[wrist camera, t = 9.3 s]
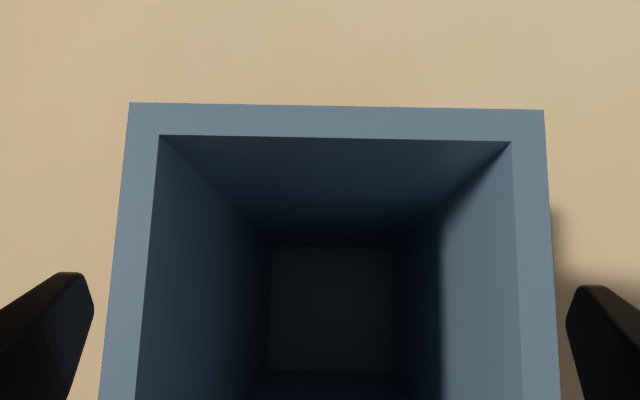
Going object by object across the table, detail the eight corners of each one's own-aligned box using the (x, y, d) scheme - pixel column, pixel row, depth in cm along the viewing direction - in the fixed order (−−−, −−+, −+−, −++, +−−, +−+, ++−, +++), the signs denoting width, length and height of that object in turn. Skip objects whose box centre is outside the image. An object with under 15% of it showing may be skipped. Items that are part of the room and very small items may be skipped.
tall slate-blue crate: (401, 383, 18) (572, 580, 5) (257, 378, 18) (80, 559, 5) (400, 240, 19) (543, 110, 6) (264, 236, 19) (129, 102, 6)
